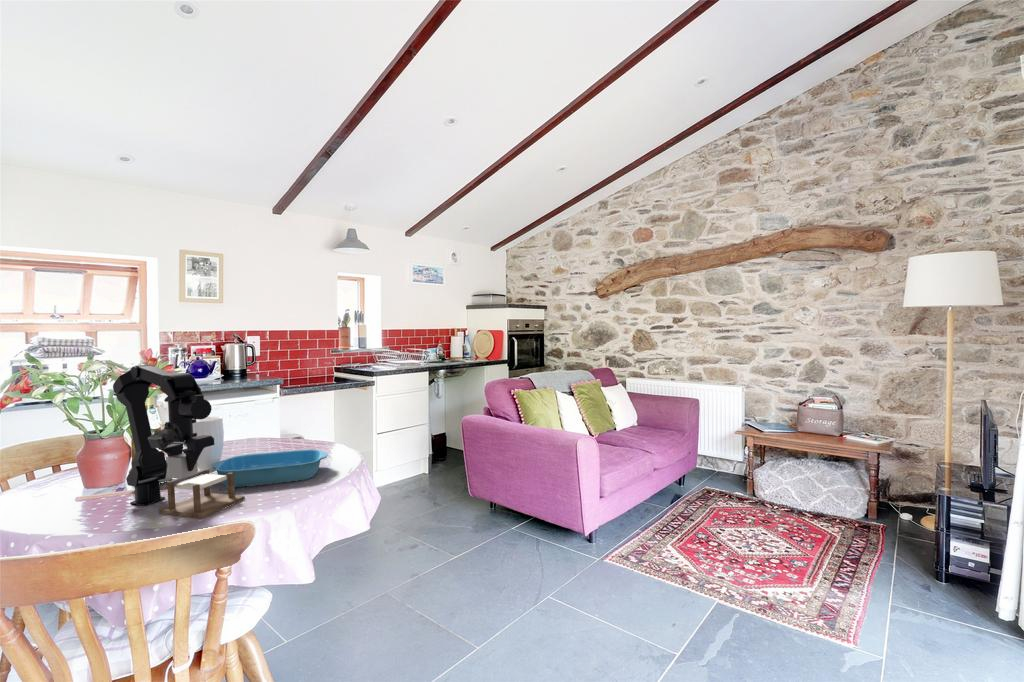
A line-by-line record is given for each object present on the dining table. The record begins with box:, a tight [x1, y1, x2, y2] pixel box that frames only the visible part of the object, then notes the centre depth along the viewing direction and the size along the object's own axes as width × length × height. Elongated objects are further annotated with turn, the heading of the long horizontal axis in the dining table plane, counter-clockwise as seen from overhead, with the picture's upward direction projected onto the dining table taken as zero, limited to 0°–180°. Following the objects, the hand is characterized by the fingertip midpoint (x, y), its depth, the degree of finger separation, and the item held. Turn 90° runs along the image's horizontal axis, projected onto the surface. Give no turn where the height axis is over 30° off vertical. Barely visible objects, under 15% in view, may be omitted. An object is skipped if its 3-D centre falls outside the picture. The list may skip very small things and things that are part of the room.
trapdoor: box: [175, 473, 227, 491], centre depth 149 cm, size 8×10×1 cm
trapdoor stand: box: [158, 469, 246, 519], centre depth 149 cm, size 16×15×9 cm
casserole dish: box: [212, 449, 329, 488], centre depth 176 cm, size 37×22×7 cm, turn 108°
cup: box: [193, 415, 225, 474], centre depth 175 cm, size 10×10×22 cm
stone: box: [167, 452, 199, 479], centre depth 145 cm, size 5×5×6 cm
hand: (183, 470), depth 145 cm, fingers closed on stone, 5 cm apart
